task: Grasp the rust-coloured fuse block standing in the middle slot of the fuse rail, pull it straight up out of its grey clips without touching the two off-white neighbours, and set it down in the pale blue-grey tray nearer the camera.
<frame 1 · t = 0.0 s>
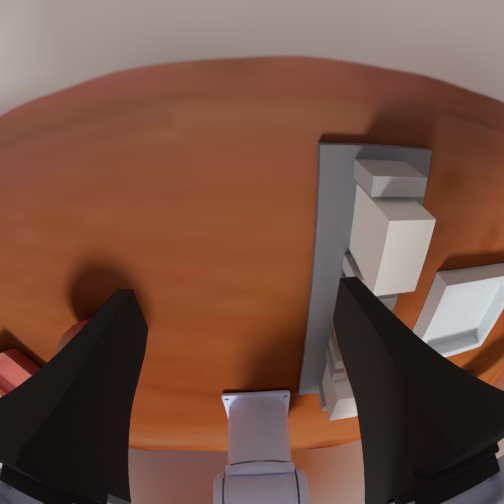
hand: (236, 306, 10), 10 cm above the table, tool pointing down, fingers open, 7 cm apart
fuse rail: (352, 306, 25), on the table
tray: (459, 309, 26), on the table
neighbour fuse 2: (373, 217, 19), point 1 cm above the table, touching fuse rail
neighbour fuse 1: (338, 369, 29), point 1 cm above the table, touching fuse rail
plant saucer: (39, 382, 35), on the table
fruit: (107, 329, 26), on the table
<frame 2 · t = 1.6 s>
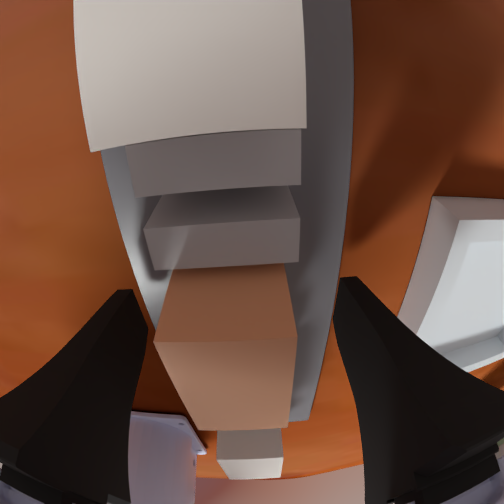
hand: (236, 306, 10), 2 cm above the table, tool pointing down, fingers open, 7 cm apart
fuse rail: (236, 270, 12), on the table
tray: (480, 291, 13), on the table
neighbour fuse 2: (213, 22, 6), point 1 cm above the table, touching fuse rail
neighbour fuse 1: (250, 394, 16), point 1 cm above the table, touching fuse rail
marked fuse: (236, 280, 11), point 1 cm above the table, touching fuse rail
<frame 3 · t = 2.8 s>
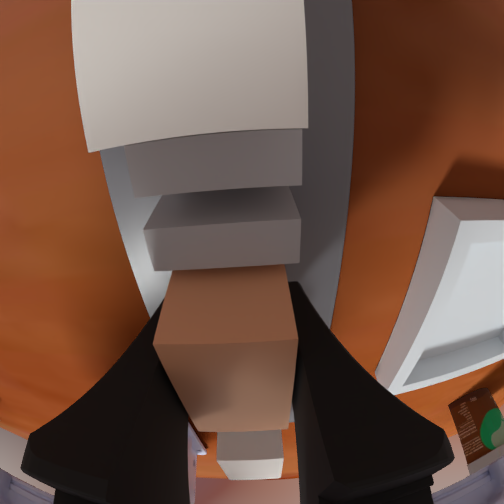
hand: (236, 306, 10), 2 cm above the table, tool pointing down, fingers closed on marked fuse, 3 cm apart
fuse rail: (236, 271, 12), on the table
tray: (481, 292, 13), on the table
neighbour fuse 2: (213, 21, 6), point 1 cm above the table, touching fuse rail
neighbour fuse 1: (250, 394, 16), point 1 cm above the table, touching fuse rail
food container: (475, 396, 24), on the table
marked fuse: (236, 280, 11), point 1 cm above the table, touching fuse rail, gripper
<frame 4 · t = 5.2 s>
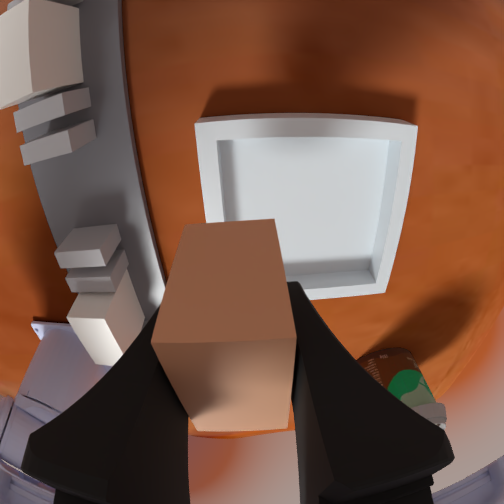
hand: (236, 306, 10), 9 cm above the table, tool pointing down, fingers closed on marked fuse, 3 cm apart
fuse rail: (86, 183, 17), on the table
tray: (306, 207, 18), on the table
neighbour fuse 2: (59, 52, 11), point 1 cm above the table, touching fuse rail
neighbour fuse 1: (119, 294, 21), point 1 cm above the table, touching fuse rail
food container: (395, 359, 29), on the table
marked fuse: (235, 279, 11), point 8 cm above the table, touching gripper
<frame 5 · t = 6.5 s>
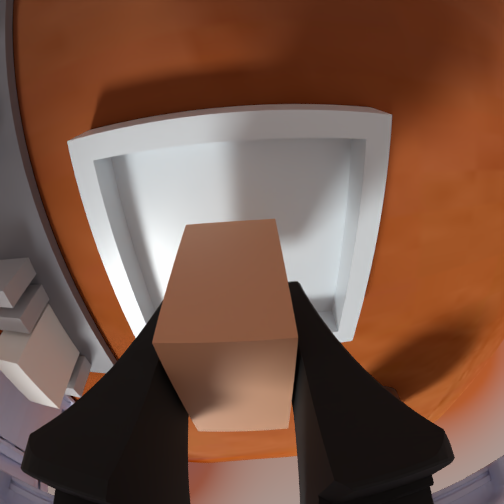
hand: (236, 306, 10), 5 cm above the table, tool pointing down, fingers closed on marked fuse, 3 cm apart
tray: (236, 237, 14), on the table
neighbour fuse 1: (49, 329, 17), point 1 cm above the table, touching fuse rail
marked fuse: (236, 279, 11), point 3 cm above the table, touching gripper
when the fingers open (3 cm above the table, at t = 7.6 s): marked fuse stays where it is, resting on tray.
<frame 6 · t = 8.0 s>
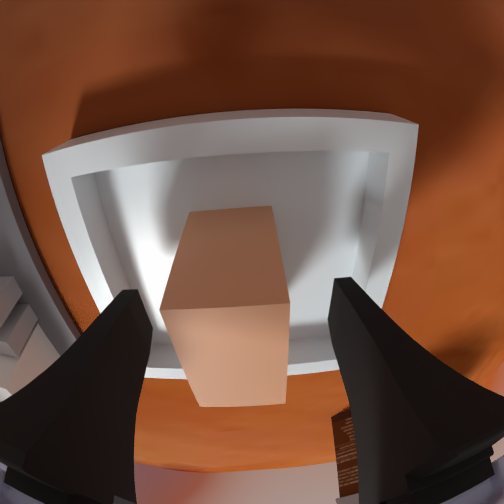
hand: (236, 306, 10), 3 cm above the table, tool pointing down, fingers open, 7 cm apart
tray: (236, 259, 12), on the table
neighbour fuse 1: (40, 347, 15), point 1 cm above the table, touching fuse rail
food container: (382, 411, 23), on the table
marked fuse: (236, 264, 12), resting on tray
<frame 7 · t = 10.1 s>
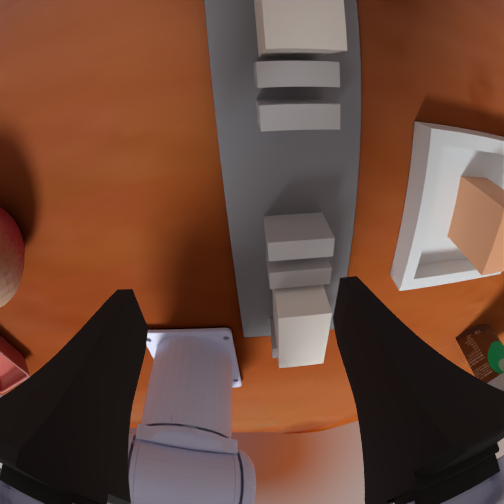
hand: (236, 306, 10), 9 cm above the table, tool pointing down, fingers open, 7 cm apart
fuse rail: (291, 165, 17), on the table
tray: (465, 205, 18), on the table
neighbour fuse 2: (284, 13, 11), point 1 cm above the table, touching fuse rail
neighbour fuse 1: (292, 289, 21), point 1 cm above the table, touching fuse rail
food container: (479, 335, 29), on the table
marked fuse: (467, 207, 18), resting on tray
fruit: (9, 231, 19), on the table
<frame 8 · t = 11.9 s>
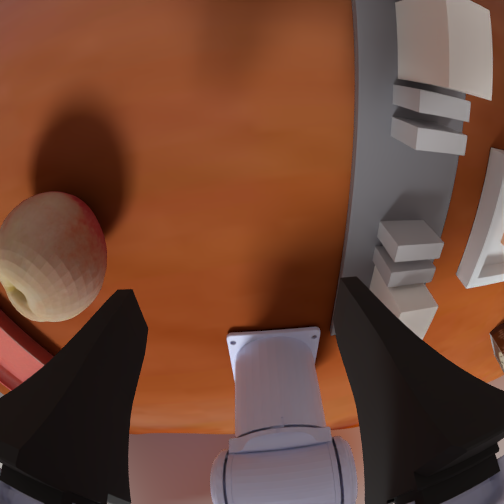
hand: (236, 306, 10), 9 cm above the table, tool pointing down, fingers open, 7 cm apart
fuse rail: (405, 177, 17), on the table
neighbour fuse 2: (418, 44, 12), point 1 cm above the table, touching fuse rail
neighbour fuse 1: (385, 288, 22), point 1 cm above the table, touching fuse rail
plant saucer: (5, 338, 28), on the table
fruit: (75, 224, 19), on the table
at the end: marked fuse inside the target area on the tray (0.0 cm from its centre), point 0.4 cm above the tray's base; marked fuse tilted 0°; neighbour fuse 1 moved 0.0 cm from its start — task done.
